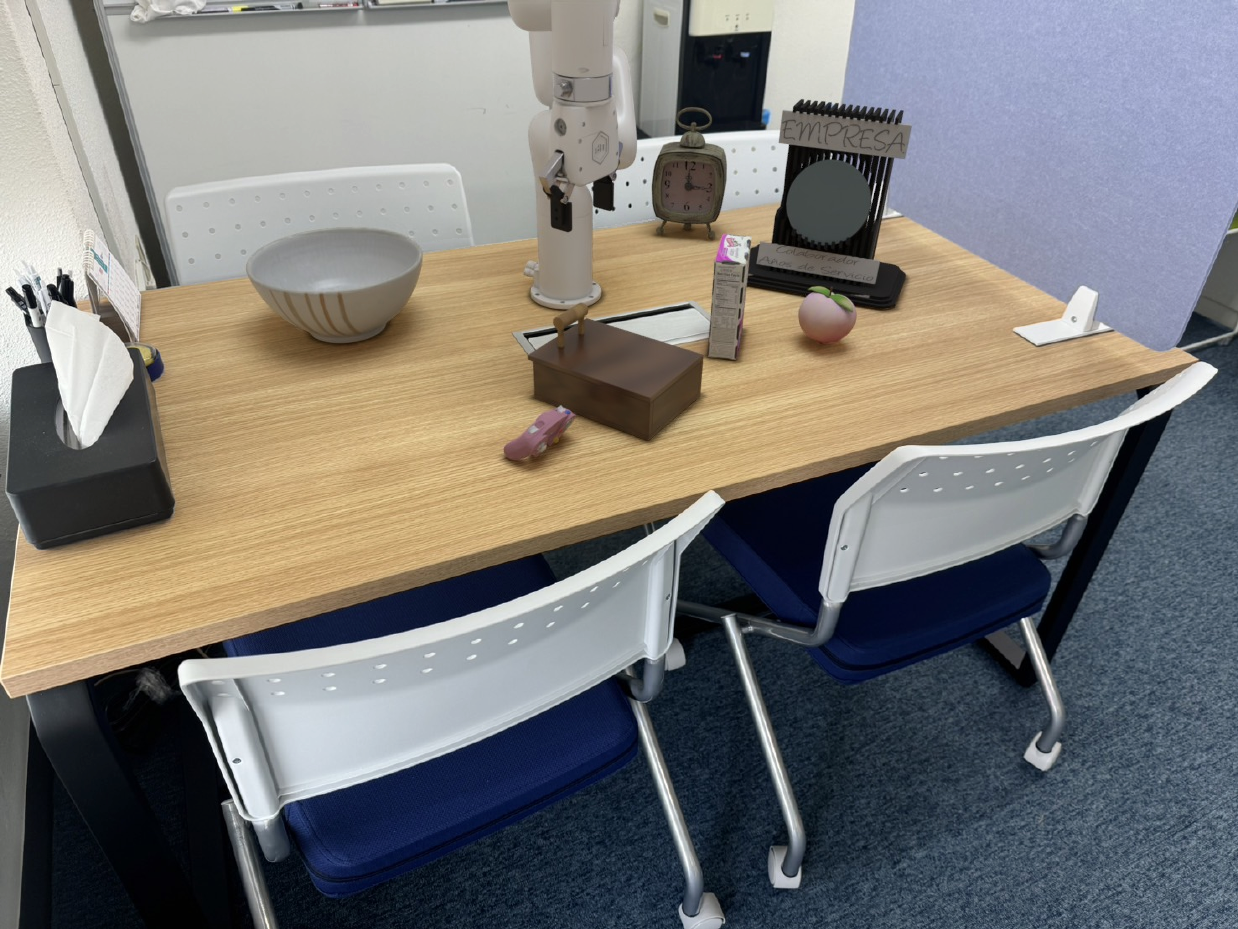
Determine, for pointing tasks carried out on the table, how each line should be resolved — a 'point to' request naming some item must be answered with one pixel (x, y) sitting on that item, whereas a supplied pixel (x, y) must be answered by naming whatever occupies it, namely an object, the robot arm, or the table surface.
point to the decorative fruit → (826, 315)
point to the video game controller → (540, 434)
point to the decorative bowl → (337, 280)
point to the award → (833, 205)
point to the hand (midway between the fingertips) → (582, 218)
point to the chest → (617, 400)
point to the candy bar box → (728, 296)
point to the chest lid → (614, 356)
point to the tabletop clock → (689, 179)
